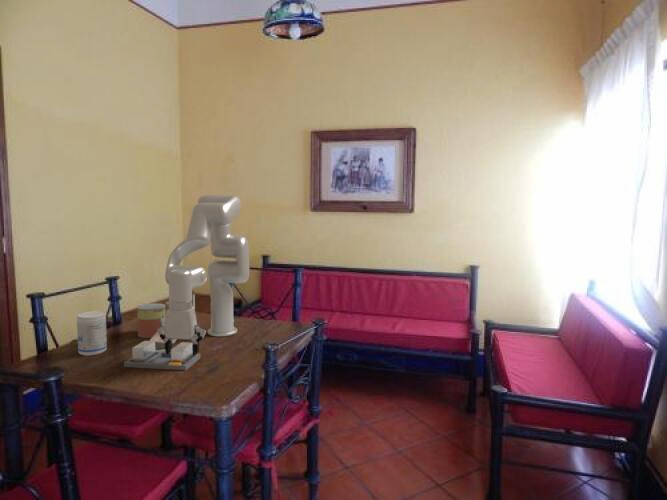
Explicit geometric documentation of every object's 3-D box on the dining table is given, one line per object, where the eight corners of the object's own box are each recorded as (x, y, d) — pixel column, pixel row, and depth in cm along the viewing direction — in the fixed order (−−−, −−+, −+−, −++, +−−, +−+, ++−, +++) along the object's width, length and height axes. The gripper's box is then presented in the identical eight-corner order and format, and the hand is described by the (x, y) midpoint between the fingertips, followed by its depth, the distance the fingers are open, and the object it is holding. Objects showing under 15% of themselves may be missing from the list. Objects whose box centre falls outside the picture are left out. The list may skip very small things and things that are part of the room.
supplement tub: (74, 352, 168) (72, 314, 166) (100, 346, 175) (98, 309, 174) (85, 358, 162) (83, 318, 160) (111, 351, 169) (110, 313, 167)
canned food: (162, 337, 187) (161, 309, 186) (134, 338, 186) (133, 309, 184) (168, 329, 198) (168, 303, 197) (142, 330, 197) (141, 303, 196)
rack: (142, 356, 164) (142, 349, 164) (200, 359, 162) (200, 352, 161) (123, 369, 152) (123, 360, 152) (185, 372, 150) (185, 364, 149)
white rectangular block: (182, 358, 160) (181, 342, 160) (192, 359, 160) (192, 342, 159) (171, 366, 153) (170, 349, 152) (182, 367, 152) (182, 350, 151)
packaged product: (152, 328, 184) (177, 328, 186) (153, 340, 185) (178, 339, 186) (139, 342, 166) (167, 341, 168) (140, 355, 167) (168, 354, 168)
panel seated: (145, 356, 162) (144, 340, 161) (155, 357, 161) (155, 341, 161) (132, 364, 154) (132, 347, 153) (143, 365, 154) (143, 348, 153)
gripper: (151, 306, 151) (153, 355, 153) (200, 309, 149) (201, 358, 151) (162, 301, 159) (163, 348, 160) (209, 303, 157) (210, 351, 159)
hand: (182, 353), depth 156 cm, fingers open, 9 cm apart
